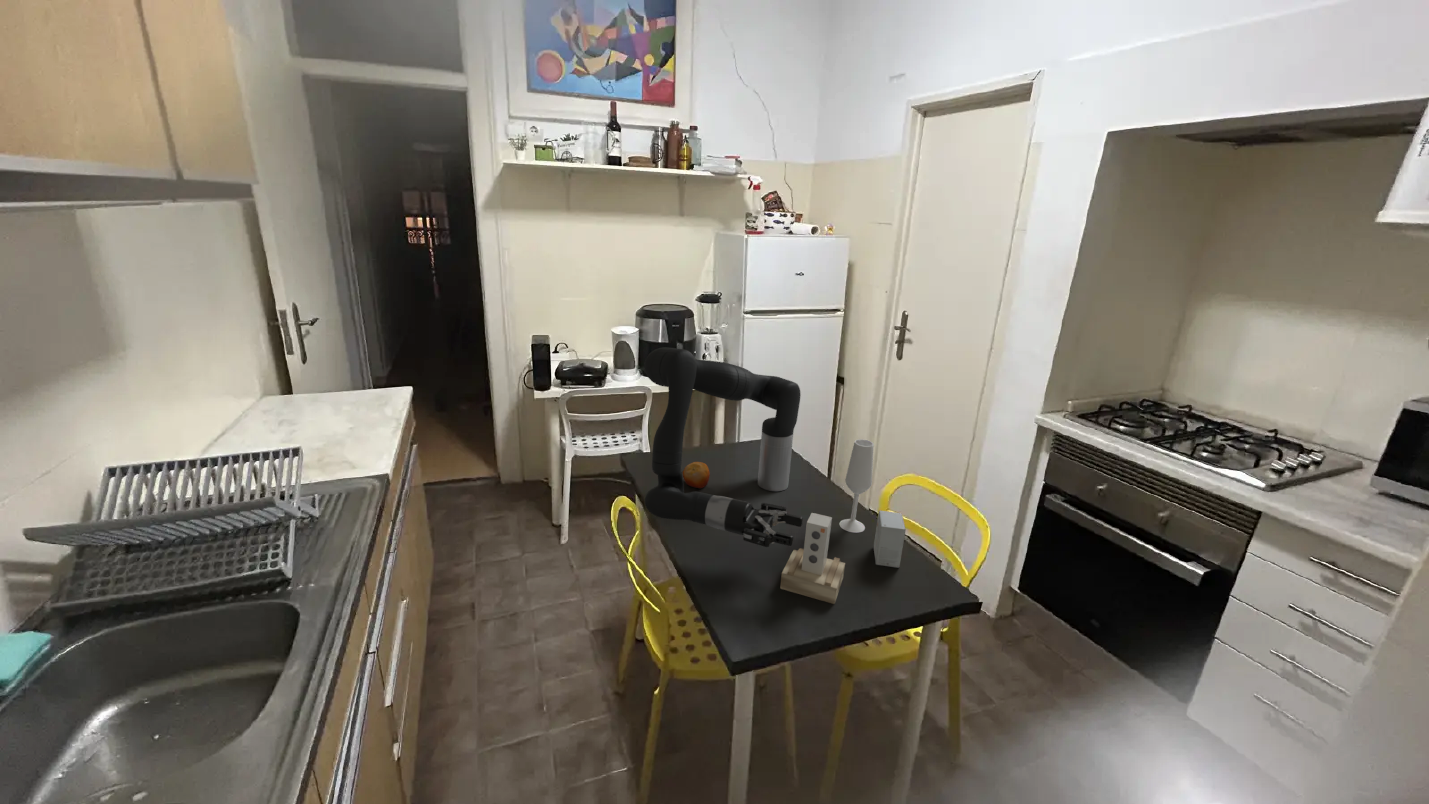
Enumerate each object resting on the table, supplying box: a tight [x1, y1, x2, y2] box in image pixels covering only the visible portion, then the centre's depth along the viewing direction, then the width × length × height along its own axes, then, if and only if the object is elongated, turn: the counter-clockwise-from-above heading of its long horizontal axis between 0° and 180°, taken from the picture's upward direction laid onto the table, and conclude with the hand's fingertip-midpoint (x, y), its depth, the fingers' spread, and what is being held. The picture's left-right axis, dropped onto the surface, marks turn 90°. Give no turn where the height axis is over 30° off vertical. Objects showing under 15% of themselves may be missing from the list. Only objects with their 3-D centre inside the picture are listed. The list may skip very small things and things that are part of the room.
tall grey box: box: [802, 512, 833, 575], centre depth 124 cm, size 5×4×12 cm
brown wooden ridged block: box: [780, 547, 846, 605], centre depth 126 cm, size 10×12×5 cm
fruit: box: [682, 461, 711, 489], centre depth 169 cm, size 8×8×8 cm
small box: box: [873, 510, 906, 568], centre depth 137 cm, size 8×6×10 cm
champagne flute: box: [839, 438, 875, 534], centre depth 147 cm, size 7×7×24 cm
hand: (797, 531), depth 125 cm, fingers open, 8 cm apart
